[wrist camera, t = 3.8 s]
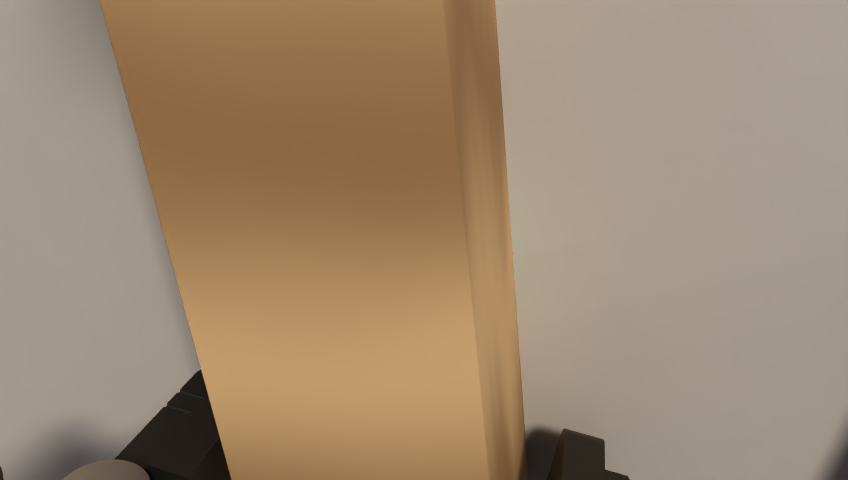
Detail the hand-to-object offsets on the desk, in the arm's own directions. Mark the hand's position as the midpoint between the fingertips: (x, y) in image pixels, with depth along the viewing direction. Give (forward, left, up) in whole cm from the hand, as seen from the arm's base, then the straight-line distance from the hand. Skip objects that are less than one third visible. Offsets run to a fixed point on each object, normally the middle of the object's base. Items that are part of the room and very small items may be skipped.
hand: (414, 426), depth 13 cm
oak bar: (0, 0, -1) cm, 1 cm away
